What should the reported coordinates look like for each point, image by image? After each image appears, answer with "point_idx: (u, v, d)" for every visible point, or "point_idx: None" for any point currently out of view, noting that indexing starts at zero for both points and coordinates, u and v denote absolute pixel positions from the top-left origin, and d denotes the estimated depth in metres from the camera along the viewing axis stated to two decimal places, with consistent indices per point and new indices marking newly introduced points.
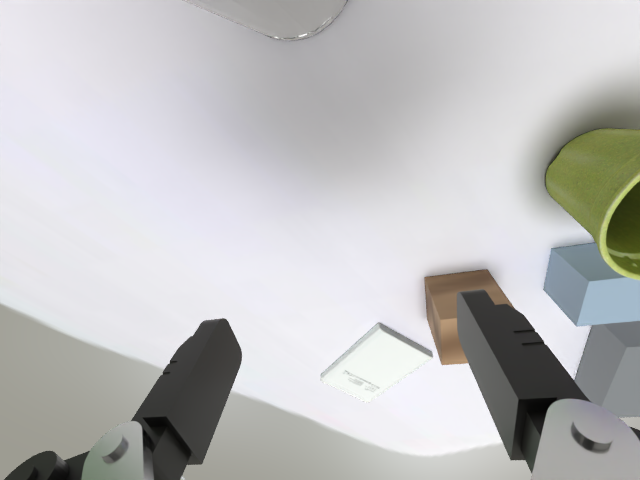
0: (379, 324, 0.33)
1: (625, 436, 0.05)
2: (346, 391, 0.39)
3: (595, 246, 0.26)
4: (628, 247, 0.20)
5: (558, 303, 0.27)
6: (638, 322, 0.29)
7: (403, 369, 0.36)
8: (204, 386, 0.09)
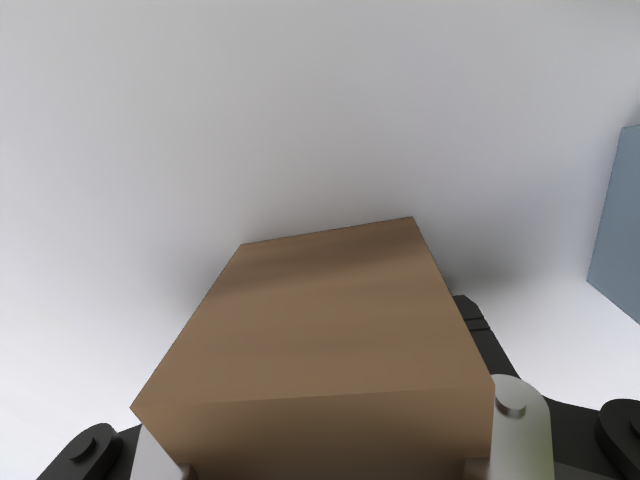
0: None
1: (537, 403, 0.05)
2: None
3: None
4: None
5: None
6: None
7: None
8: None
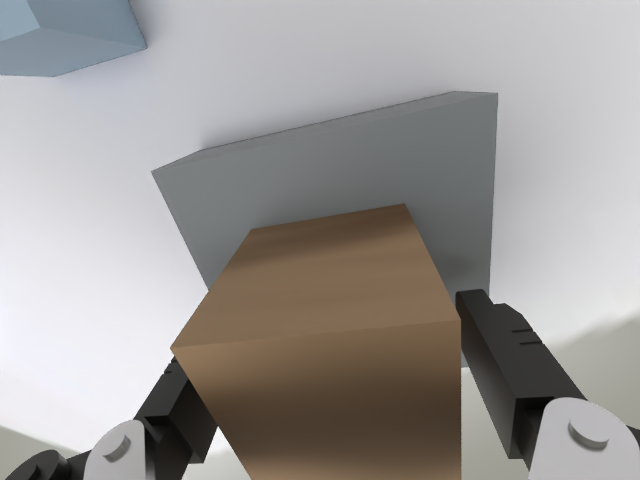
0: None
1: (622, 435, 0.05)
2: None
3: None
4: None
5: None
6: (246, 142, 0.13)
7: None
8: None
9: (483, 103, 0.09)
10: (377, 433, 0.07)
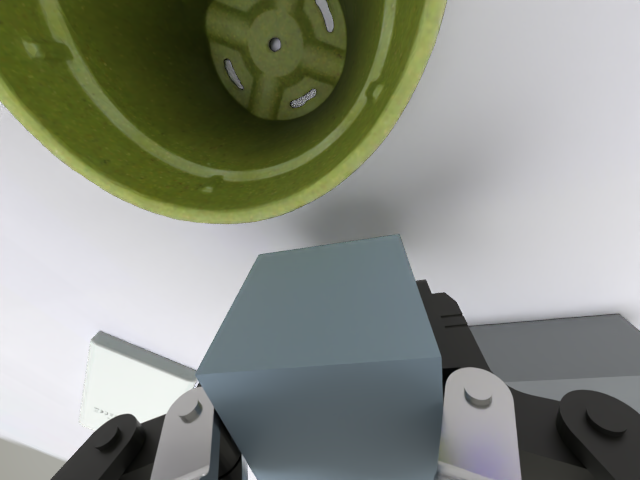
0: (97, 334, 0.22)
1: (502, 395, 0.06)
2: None
3: (347, 251, 0.09)
4: (249, 162, 0.09)
5: None
6: None
7: (165, 402, 0.24)
8: None
9: None
10: None
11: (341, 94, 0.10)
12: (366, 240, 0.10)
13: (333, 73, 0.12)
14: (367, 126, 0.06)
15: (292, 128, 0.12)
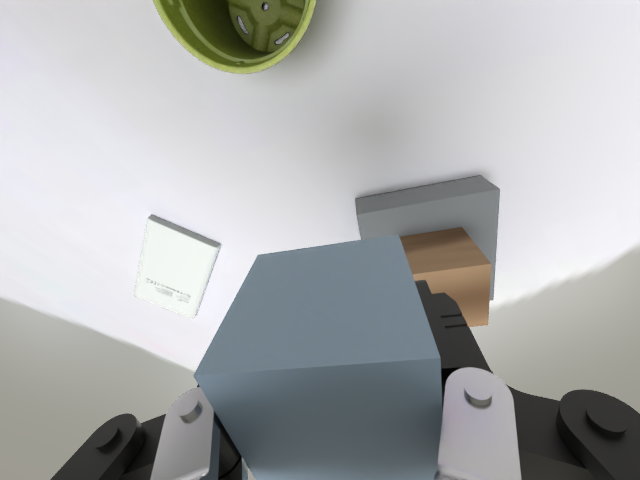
0: (151, 215, 0.32)
1: (502, 395, 0.06)
2: (163, 306, 0.38)
3: (346, 251, 0.09)
4: (255, 57, 0.19)
5: None
6: (385, 197, 0.28)
7: (197, 267, 0.34)
8: None
9: (494, 192, 0.24)
10: (462, 303, 0.23)
11: None
12: (365, 240, 0.10)
13: (297, 22, 0.23)
14: (300, 27, 0.16)
15: None
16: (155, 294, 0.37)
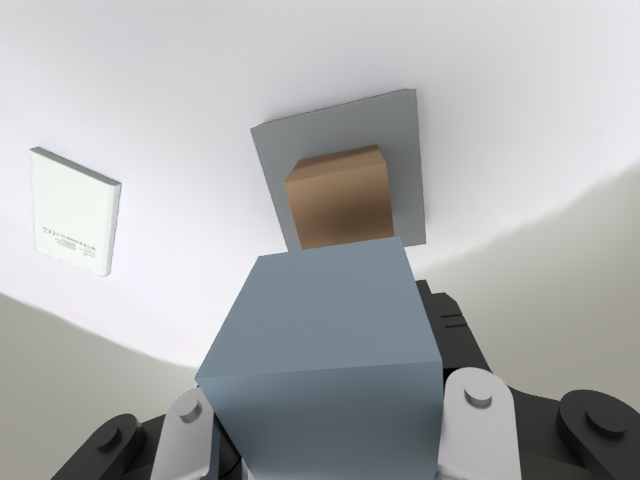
0: (35, 148, 0.28)
1: (502, 395, 0.06)
2: (69, 262, 0.33)
3: (347, 253, 0.09)
4: None
5: None
6: (293, 116, 0.24)
7: (95, 211, 0.30)
8: None
9: (409, 94, 0.20)
10: (360, 224, 0.18)
11: None
12: (366, 242, 0.10)
13: None
14: None
15: None
16: (56, 247, 0.32)
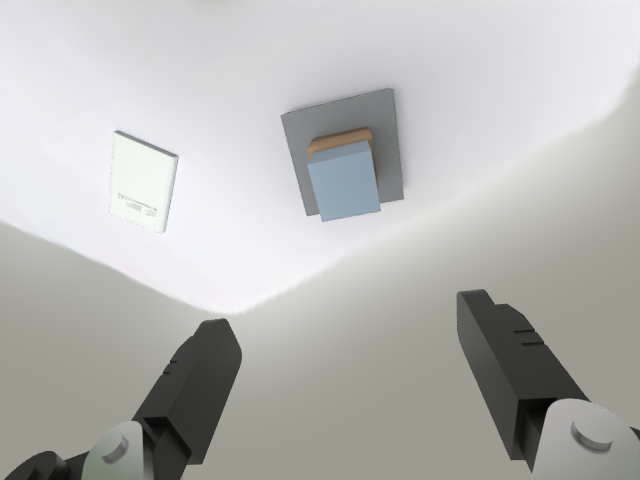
0: (117, 131, 0.38)
1: (625, 436, 0.05)
2: (135, 222, 0.43)
3: (348, 145, 0.26)
4: None
5: None
6: None
7: (159, 178, 0.39)
8: (204, 386, 0.09)
9: (389, 91, 0.30)
10: None
11: None
12: (355, 142, 0.26)
13: None
14: None
15: None
16: (126, 209, 0.42)
